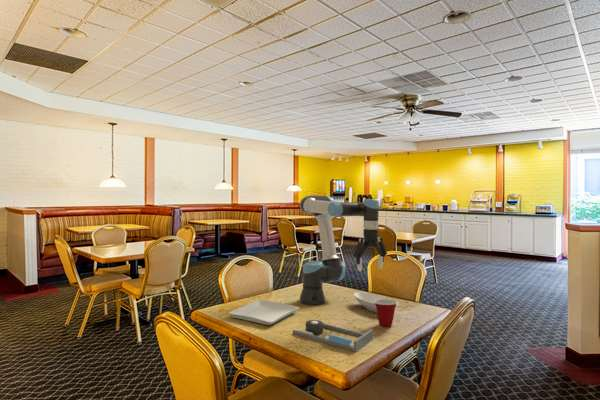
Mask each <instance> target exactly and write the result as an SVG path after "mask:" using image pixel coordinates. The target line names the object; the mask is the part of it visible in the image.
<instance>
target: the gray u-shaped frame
mask: <svg viewBox="0 0 600 400" xmlns="http://www.w3.org/2000/svg"><path fill="white" fill-rule="evenodd" d="M324 328H325V329H328V330H332V331H335V332H340V333H345V334H348V335H352V336H355V337H357V338H356V339H355V340H352V339H351V338H346V337H343V336H339V335H336V334H331V333H330V334H328V336H327V335H326V336H325V337H323V336H319V335H313V333H311V332H307V331H306V330H304V329H299V328H298V329H293V330H292V334H293V335H296V336H300V337H302V338H306V339H309V340H314V341H317V342H319V343H324V344H327V345H331V346H334V347H338V348H341V349H345V350H349V351H351V352H355V353H357V352H358V351H359V350H361V349H362V348H364V346H366V345H367V344H369V343H370V342H371V341H373V339H374V330H373V329H369V330H367V331H366V332H364V333H363V332H359V331H356V330H352V329H348V328H344V327H339V326H337V325H331V324H327V323H324V322H323V329H324ZM352 342H353V343H352Z"/></svg>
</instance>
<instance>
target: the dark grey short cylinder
mask: <svg viewBox="0 0 600 400" xmlns="http://www.w3.org/2000/svg"><path fill="white" fill-rule="evenodd" d="M323 323H324V322H323V321H322V320H319V319H310V320H306V321H305V331H307V332H311V333H313V335H315V336H320V335H322V334H323V333H324V327H323Z"/></svg>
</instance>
